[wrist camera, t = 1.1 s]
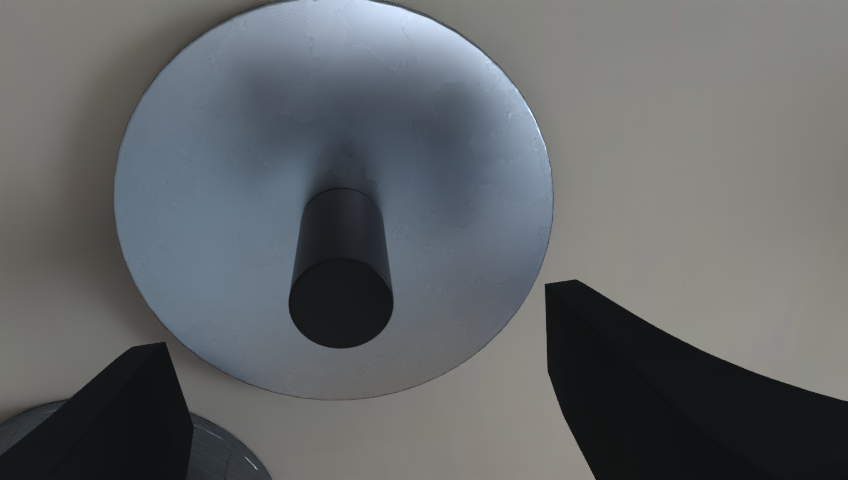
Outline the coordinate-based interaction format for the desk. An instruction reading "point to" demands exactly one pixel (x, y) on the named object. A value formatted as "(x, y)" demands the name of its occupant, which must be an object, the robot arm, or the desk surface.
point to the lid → (333, 198)
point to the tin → (209, 459)
